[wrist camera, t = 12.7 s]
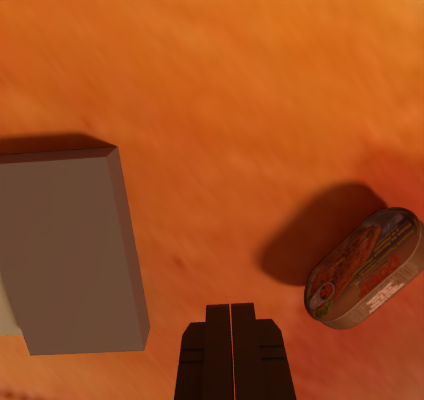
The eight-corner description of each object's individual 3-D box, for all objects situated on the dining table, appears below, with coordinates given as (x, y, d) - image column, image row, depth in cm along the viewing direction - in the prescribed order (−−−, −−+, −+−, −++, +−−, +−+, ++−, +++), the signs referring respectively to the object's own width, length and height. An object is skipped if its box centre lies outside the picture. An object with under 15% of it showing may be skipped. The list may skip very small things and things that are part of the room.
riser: (-12, 155, 37) (-38, 166, 34) (117, 146, 37) (106, 156, 33) (45, 331, 46) (30, 355, 43) (150, 326, 46) (144, 350, 42)
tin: (391, 194, 38) (434, 230, 31) (410, 211, 39) (457, 250, 31) (295, 283, 43) (312, 334, 35) (313, 297, 44) (334, 349, 36)
